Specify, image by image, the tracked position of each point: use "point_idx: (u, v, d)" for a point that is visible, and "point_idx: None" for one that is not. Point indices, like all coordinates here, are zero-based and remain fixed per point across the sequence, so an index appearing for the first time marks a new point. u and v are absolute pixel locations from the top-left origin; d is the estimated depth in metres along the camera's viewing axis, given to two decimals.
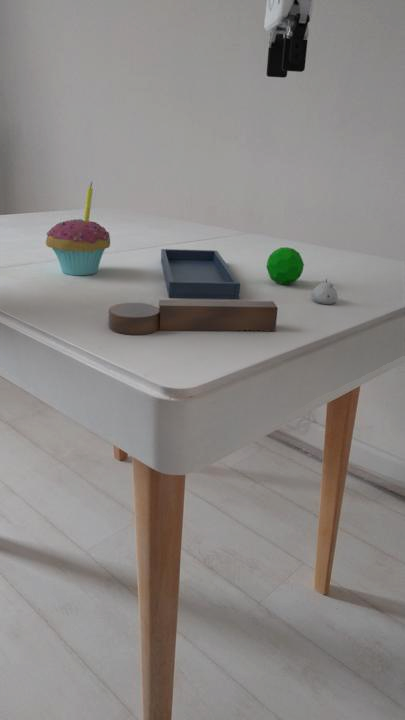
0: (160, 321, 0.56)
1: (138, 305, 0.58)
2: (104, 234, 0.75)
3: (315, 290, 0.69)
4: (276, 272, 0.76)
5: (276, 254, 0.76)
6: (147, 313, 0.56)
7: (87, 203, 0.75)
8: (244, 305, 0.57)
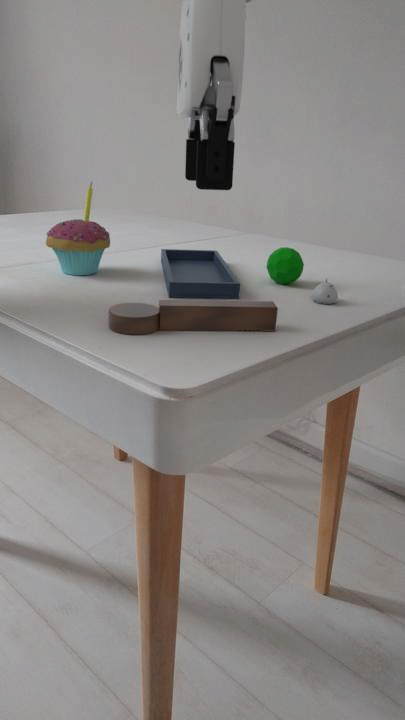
0: (160, 321, 0.56)
1: (138, 305, 0.58)
2: (104, 234, 0.75)
3: (315, 290, 0.69)
4: (276, 272, 0.76)
5: (276, 254, 0.76)
6: (147, 313, 0.56)
7: (87, 203, 0.75)
8: (244, 305, 0.57)
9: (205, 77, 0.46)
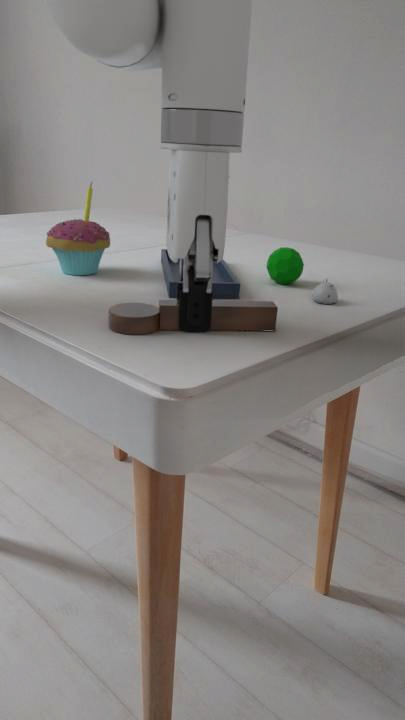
0: (160, 321, 0.56)
1: (138, 305, 0.58)
2: (104, 234, 0.75)
3: (315, 290, 0.69)
4: (276, 272, 0.76)
5: (276, 254, 0.76)
6: (147, 313, 0.56)
7: (87, 203, 0.75)
8: (244, 305, 0.57)
9: (190, 234, 0.50)
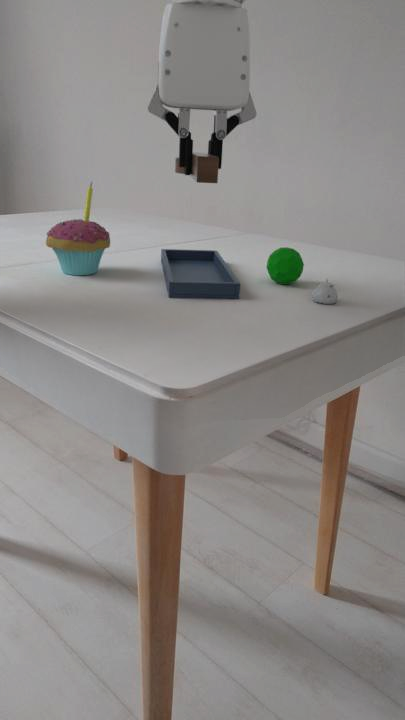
0: None
1: None
2: (104, 234, 0.75)
3: (315, 290, 0.69)
4: (276, 272, 0.76)
5: (276, 254, 0.76)
6: None
7: (87, 203, 0.75)
8: None
9: None
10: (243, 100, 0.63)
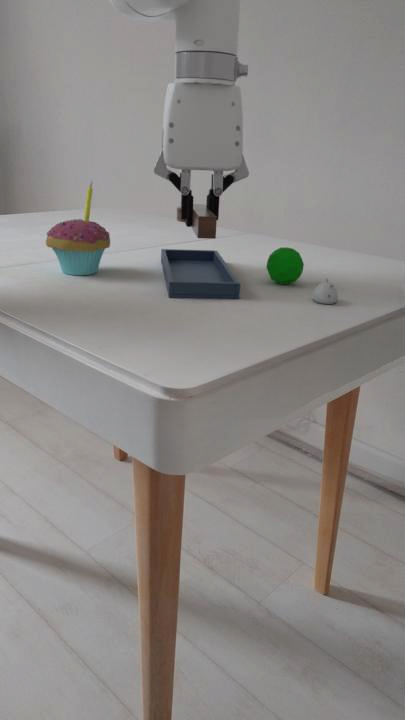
0: None
1: None
2: (104, 234, 0.75)
3: (315, 290, 0.69)
4: (276, 272, 0.76)
5: (276, 254, 0.76)
6: None
7: (87, 203, 0.75)
8: (199, 212, 0.70)
9: (162, 142, 0.72)
10: (237, 163, 0.72)
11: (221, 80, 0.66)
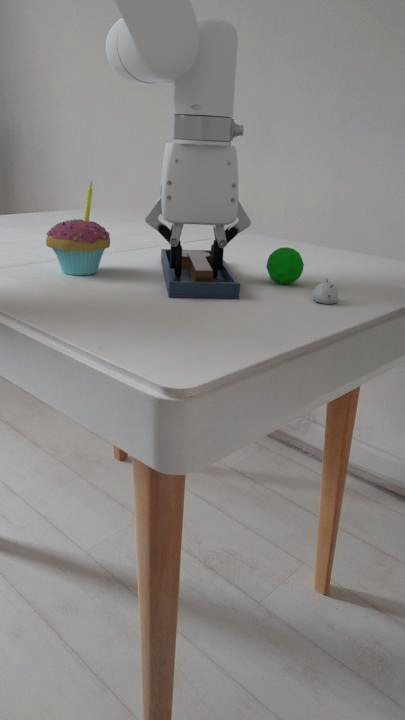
0: (186, 262, 0.81)
1: (203, 254, 0.83)
2: (104, 234, 0.75)
3: (316, 290, 0.69)
4: (276, 272, 0.76)
5: (276, 254, 0.76)
6: (186, 255, 0.82)
7: (87, 203, 0.75)
8: (197, 264, 0.72)
9: (160, 197, 0.75)
10: (232, 218, 0.74)
11: (218, 142, 0.69)
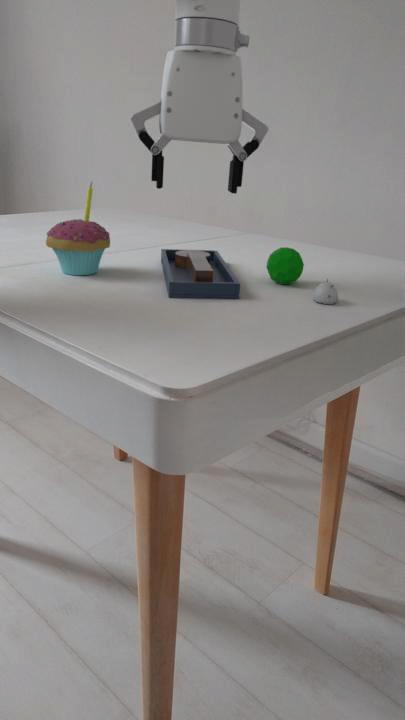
0: (186, 262, 0.81)
1: (203, 254, 0.83)
2: (104, 234, 0.75)
3: (316, 290, 0.69)
4: (276, 272, 0.76)
5: (276, 254, 0.76)
6: (186, 255, 0.82)
7: (87, 203, 0.75)
8: (197, 264, 0.72)
9: (159, 113, 0.71)
10: (235, 136, 0.70)
11: (222, 49, 0.65)
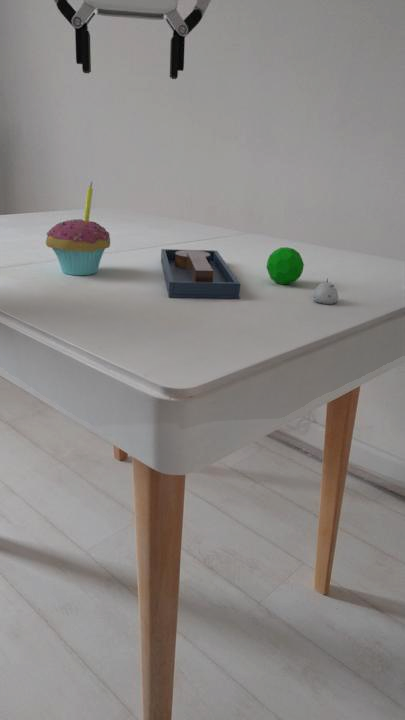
0: (186, 262, 0.81)
1: (203, 254, 0.83)
2: (104, 234, 0.75)
3: (316, 290, 0.69)
4: (276, 272, 0.76)
5: (276, 254, 0.76)
6: (186, 255, 0.82)
7: (87, 203, 0.75)
8: (197, 264, 0.72)
9: None
10: (172, 2, 0.59)
11: None
